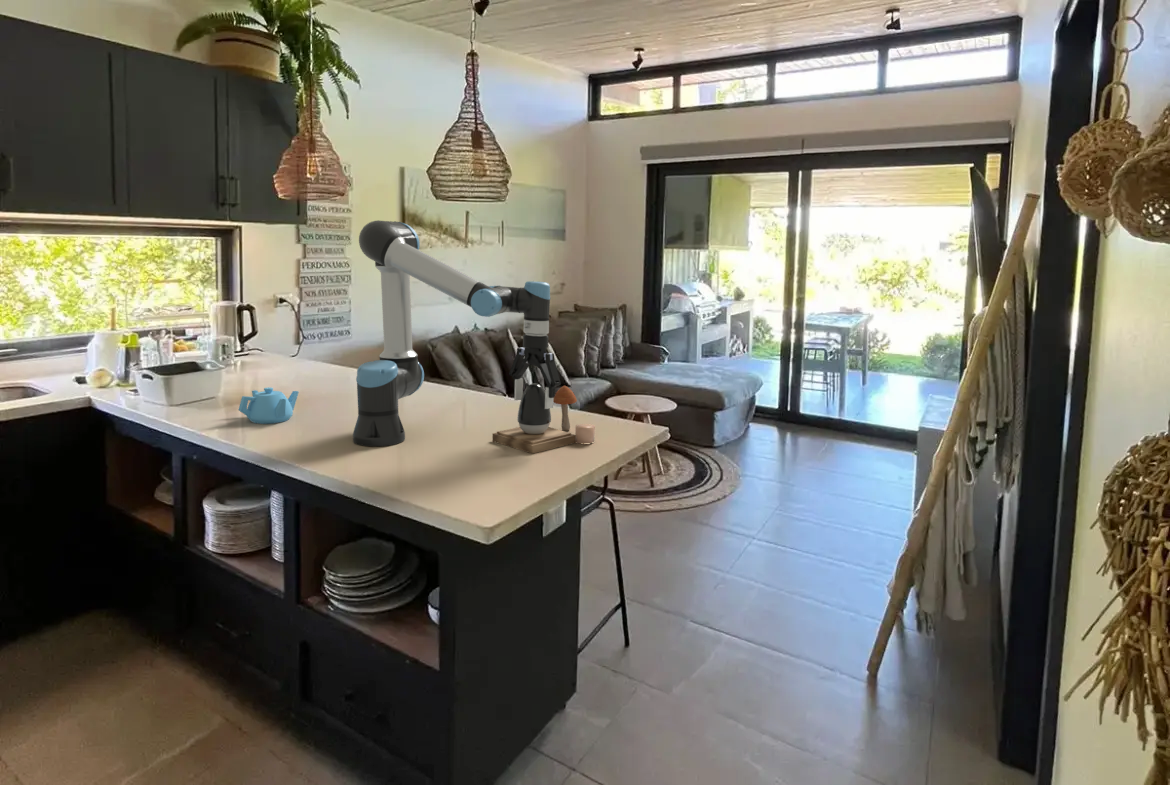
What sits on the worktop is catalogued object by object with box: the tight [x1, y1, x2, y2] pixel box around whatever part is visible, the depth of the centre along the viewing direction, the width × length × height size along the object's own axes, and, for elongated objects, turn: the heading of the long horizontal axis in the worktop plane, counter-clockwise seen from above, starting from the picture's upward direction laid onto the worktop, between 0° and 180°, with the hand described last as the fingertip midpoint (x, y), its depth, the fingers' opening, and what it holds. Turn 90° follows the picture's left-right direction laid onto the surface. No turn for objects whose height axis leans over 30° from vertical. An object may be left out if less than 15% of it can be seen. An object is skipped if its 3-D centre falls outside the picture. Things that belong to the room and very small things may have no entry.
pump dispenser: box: [516, 382, 552, 434], centre depth 218 cm, size 10×10×15 cm
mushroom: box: [553, 385, 578, 432], centre depth 233 cm, size 8×8×15 cm
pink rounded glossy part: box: [574, 423, 596, 444], centre depth 222 cm, size 6×6×5 cm
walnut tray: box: [491, 426, 576, 454], centre depth 220 cm, size 18×18×3 cm
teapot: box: [238, 386, 300, 425], centre depth 237 cm, size 15×15×11 cm
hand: (533, 404), depth 218 cm, fingers open, 13 cm apart
